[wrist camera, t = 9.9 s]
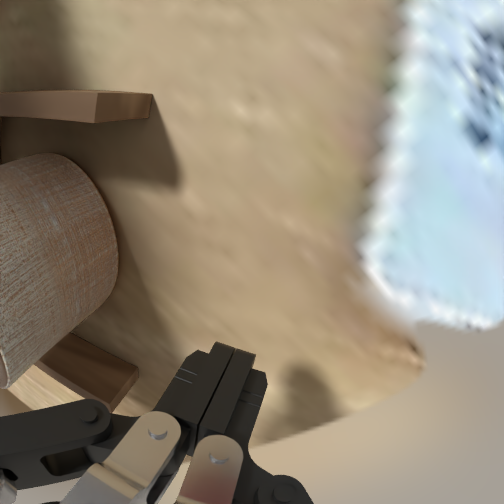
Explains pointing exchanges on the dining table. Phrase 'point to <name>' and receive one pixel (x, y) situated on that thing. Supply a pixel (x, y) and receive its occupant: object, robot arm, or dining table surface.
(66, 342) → the bay
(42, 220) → the planter
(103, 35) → the dining table surface
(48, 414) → the robot arm
